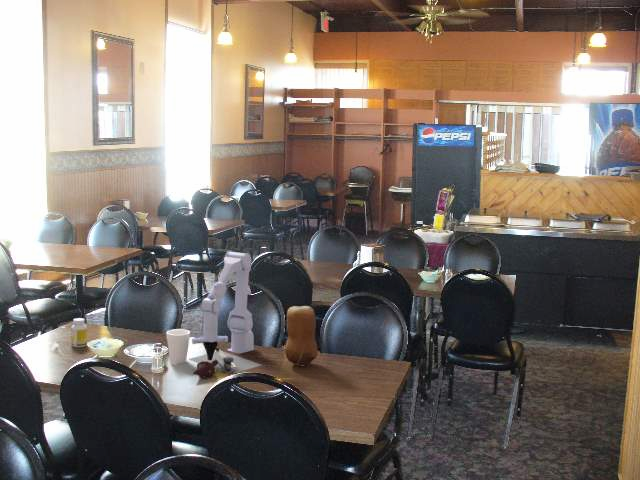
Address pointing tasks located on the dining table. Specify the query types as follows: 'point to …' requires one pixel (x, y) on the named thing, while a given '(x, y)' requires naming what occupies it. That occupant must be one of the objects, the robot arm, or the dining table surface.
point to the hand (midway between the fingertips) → (209, 359)
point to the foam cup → (178, 345)
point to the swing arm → (222, 357)
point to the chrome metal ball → (228, 368)
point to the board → (238, 362)
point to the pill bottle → (79, 333)
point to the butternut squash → (301, 335)
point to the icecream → (205, 368)
